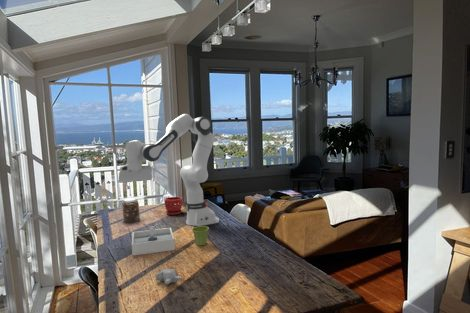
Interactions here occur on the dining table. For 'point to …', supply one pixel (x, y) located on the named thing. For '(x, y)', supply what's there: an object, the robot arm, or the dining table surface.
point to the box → (152, 241)
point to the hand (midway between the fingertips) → (136, 188)
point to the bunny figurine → (168, 276)
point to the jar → (130, 210)
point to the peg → (152, 233)
